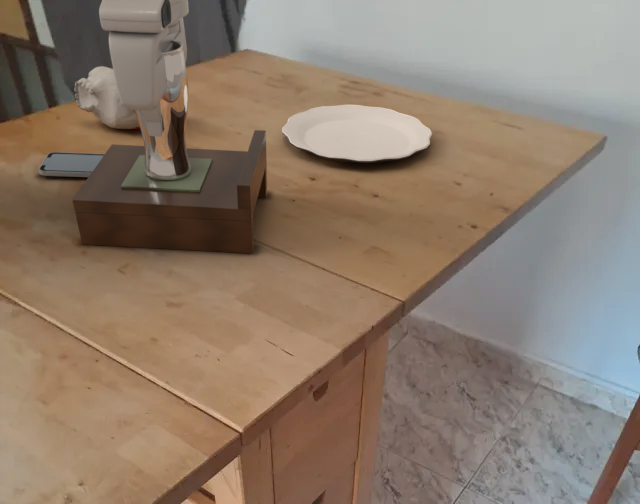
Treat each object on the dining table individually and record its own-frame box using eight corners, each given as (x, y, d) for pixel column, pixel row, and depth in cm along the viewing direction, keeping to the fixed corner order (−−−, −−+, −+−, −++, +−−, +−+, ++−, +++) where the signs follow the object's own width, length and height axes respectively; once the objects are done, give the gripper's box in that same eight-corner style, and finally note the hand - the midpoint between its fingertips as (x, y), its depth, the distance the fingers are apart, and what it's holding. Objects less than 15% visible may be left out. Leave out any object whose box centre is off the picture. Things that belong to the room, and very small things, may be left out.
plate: (308, 178, 105) (309, 166, 104) (266, 121, 122) (266, 110, 121) (455, 163, 111) (457, 151, 110) (395, 110, 129) (396, 100, 127)
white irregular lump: (75, 119, 118) (156, 116, 126) (99, 140, 112) (184, 135, 119) (70, 61, 113) (156, 62, 120) (95, 80, 106) (184, 79, 114)
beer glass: (204, 167, 92) (196, 42, 81) (175, 186, 87) (162, 57, 77) (161, 156, 94) (147, 33, 83) (130, 174, 89) (111, 46, 79)
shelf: (82, 244, 88) (66, 176, 82) (118, 185, 101) (107, 122, 95) (252, 253, 88) (250, 185, 82) (267, 193, 101) (265, 130, 95)
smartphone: (140, 175, 102) (36, 171, 101) (141, 181, 103) (38, 177, 102) (147, 155, 107) (48, 151, 106) (147, 161, 108) (50, 157, 107)
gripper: (141, -25, 84) (156, 94, 94) (93, 16, 69) (116, 153, 79) (192, -23, 84) (202, 97, 94) (155, 19, 69) (171, 156, 79)
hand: (163, 123), depth 86 cm, fingers closed on beer glass, 6 cm apart
